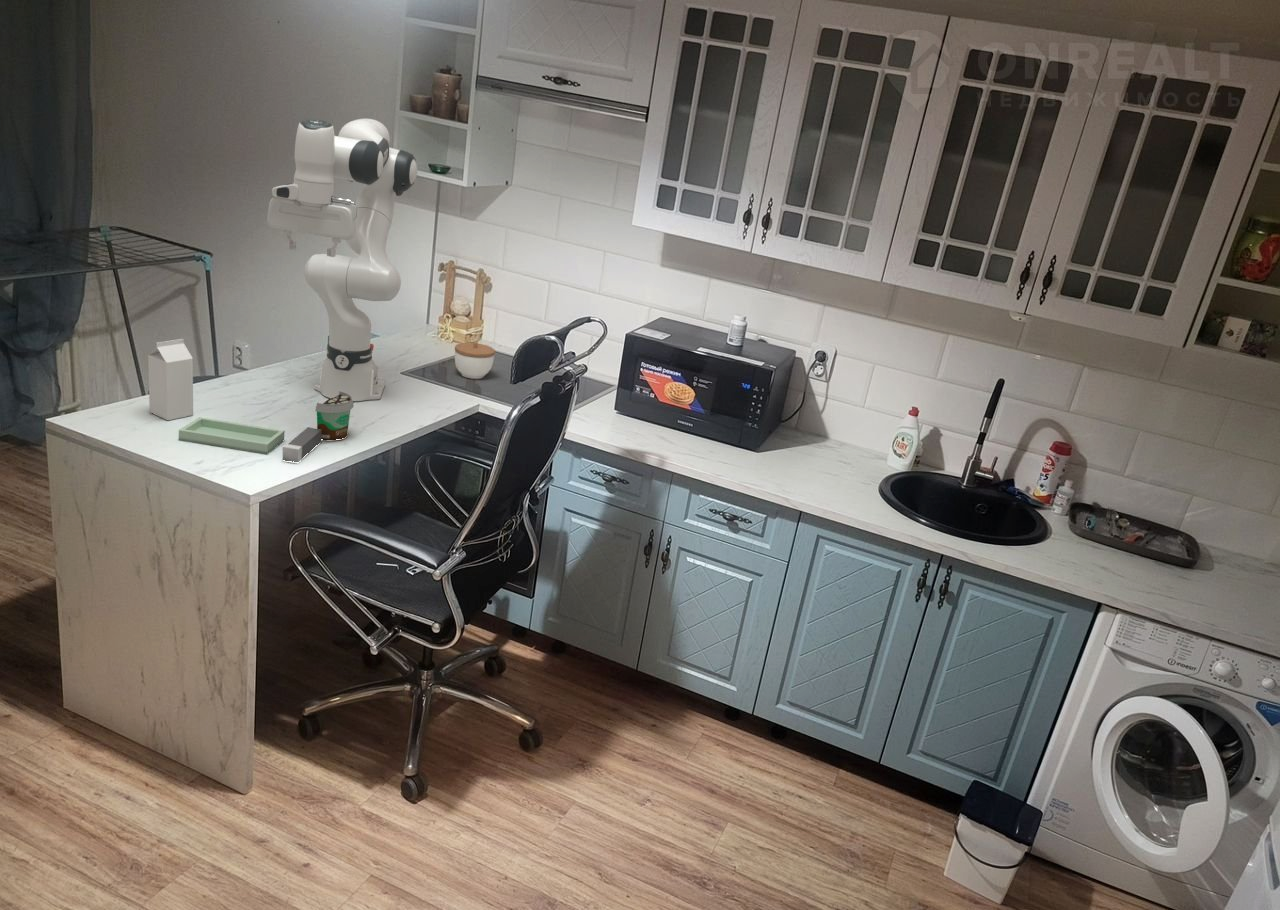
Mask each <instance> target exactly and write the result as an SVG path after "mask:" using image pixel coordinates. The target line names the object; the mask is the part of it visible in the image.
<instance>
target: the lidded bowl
mask: <svg viewBox="0 0 1280 910" xmlns="http://www.w3.org/2000/svg"><path fill="white" fill-rule="evenodd" d="M495 353H496V350H495V348H493V347H492V346H489V345H487V344H483V343H478V342H477V341H473V342H462V343H458V344H455V346H454V363H455V366H456V369H457V371H458V372H459V373H460V374H461V376H462V377H464V378H466V379H470V380H471V379H472V380H480V379H483V378H484V377H485V376H486V375H487V374H488V373H489V372H490V371H491V369H492V367H493V364H494V361H495Z"/></svg>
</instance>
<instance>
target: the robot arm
mask: <svg viewBox="0 0 1280 910" xmlns="http://www.w3.org/2000/svg"><path fill="white" fill-rule="evenodd" d="M390 137H391V136H390V133H389V130H388V128H387V127H386V126H385V125H384V124H383V123H382V122H380V121H379V120H376V119H373V118H359V119H354V120H351V121H349V122H347V123H345V124H344V125H343V126H342V127H341V128H340V130H339V132H338V136H337V135H335V130H334V125H333V124H332V123H331V122H329V121H327V120H324V119H323V120H321V119H316V118H315V119H309V118H308V119H304V120H301V121H300V122H299V123H298V126H297V130H296V135H295V142H294V162H295V172H294V175H293V183H292V182H291V183H286V184H285V185H284V184H283V185H278V186H274V187H273V188H271V195H272V198H271V199H270V201H269V203H268V209H267V220H266V221H267V224H268V226H269V227H270V228H271V229H278V230H282V235H283V237H284V239H285V242H286V243H287V246H286V247H287V251H296V250H297V242H295V241H293V239H292V236H291V235H293V232H295V233H301V234H307V235H313V236H319V237H325V238H331V243H333V245H332V247H328V248H327V249H326V252H327V253H317V254H316V253H315V254H313V255H311V257H309V258H308V260H307V261H306V263H305V266H304V273H303V274H304V278H305V281H306V284H307V285H308V286H309V287H310V289H311V290H312V291H314V292H315V293H316V294H317V296H318V297H319V299H320V300H321V302H322V303H323V304H324V307H325V309H326V313H327V316H328V328H329V329H328V332H329V333H328V335H329V336H328V337H329V341H328V343H327V346H326V358H325V359H324V360H323V361H321V367H320V376H319V383H316V384H314V390H315V391H317V392H319V393H320V394H321V395H322V396H324V397H326V398H328V399H330V398H334V397H336V396H338V395H339V391H341V392H344V393H347V394H349V395H350V396H351V398H352V400H353V402H361V401H362V402H363V401H368V400H380V399H381V398H382V395H383V392H384V390H385V387H386V382H385V381H384V380H382V379H379V378H378V376H379V366H378V365H377V364H376V362H375V361H373V351H374V347H375V346H374V345H375V344H374V343H371V337H372V322H371V320H370V318H369V316H368V315H367V314H366V313H365V312H363V311H362V310H360V308H358V307H357V306H356V305H355V302H354V300H353V299H358V300H363V301H370V302H389V301H390V302H391V301H392V300H394V298H396V297H397V295H398V294H399V292H400V289H401V284H402V280H401V275H400V273H399V272H398V269H397V268H396V267H395V265H393V264H392V263H391V262H390V259H389V258H388V256H387V253H386V247H387V246H386V245H387V241H388V237H389V233H390V229H391V225H392V222H393V218H394V211H395V195H396V197H401V196H402V195H403V194H404V192H406V191H408V190H410V188H412V187H413V186H414V183H415V180H416V179H417V176H418V175H417V174H418V166H417V159H416V157H415V156H414V155H413V153H411V152H408V150H407V151H406V150H404V149H396V148H393V147H390V143H391V142H390V141H391V138H390ZM335 179H338V180H339V179H340V180H345V181H349V182H351V183H353V182H356V183H359V184H363V185H365V186H364V187H363V188H362V189H361V191H360V193H359V195H358V196H357V198H356V200H355V202H354V201H353V200H351V199H350V198H349V199H348V198H341V197H336V196H335V195H334V192H335ZM342 240H343V241H344V240H345V242H346V244H347V245H348V247H350V249H352V251H353V252H355V253H356V254H358V256H347V255H344V254H343V255H341V254H338V253H336V250H337V248H338V247H339V245H341V243H342Z"/></svg>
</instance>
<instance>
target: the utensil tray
mask: <svg viewBox="0 0 1280 910" xmlns="http://www.w3.org/2000/svg"><path fill="white" fill-rule="evenodd" d="M285 431H286V430H281V429H277V428H276V429H275V428H270V427H262V426H256V425H250V424H245V423H237V422H233V421H232V422H231V421H225V420H219V419H213V418H208V417H201V416H199V417H197V418H195V419H194V420H193V421H191V422H188V423H187V424H186V425H184V426H183V427H181V428H180V429H178V441H182V442H189V443H194V444H201V445H208V446H212V447H213V446H214V447H220V448H227V449H230V450H232V449H233V450H237V451H243V452H244V451H245V452H250V453H251V452H252V453H255V454H256V453H257V454H262V455H268V454H269V452H270V453H271V452H272V451H274V449H276V448H277V447H278V446H279V445H281V444H282V443H283V442H284V441H285ZM283 440H284V441H283ZM282 441H283V442H282ZM281 442H282V443H281ZM280 443H281V444H280ZM277 445H278V446H277ZM276 446H277V447H276ZM275 447H276V448H275Z"/></svg>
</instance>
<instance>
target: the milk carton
mask: <svg viewBox="0 0 1280 910" xmlns="http://www.w3.org/2000/svg"><path fill="white" fill-rule="evenodd" d="M184 341H185V339H184V338H179V339H173V340H166V341H157V342H156V347H154V349H153V350H151V351H150V353H148V354H147V360H148V361H147V363H148V397H149V398H148V399H149V400H148V403H149V413H150V414H152V413H153V414H152V415H154V416H156V417H160V418H161V419H164V420H166V421H171V420H175V419H176V420H177V419H181V418H185V417H190V416H194V372H193V370H194V369H193V368H194V365H193V363H194V362H193V361H194V358H193V356H192V355H191V353H190V351H189V349H188V348H187V346H186V344H185V342H184Z"/></svg>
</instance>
